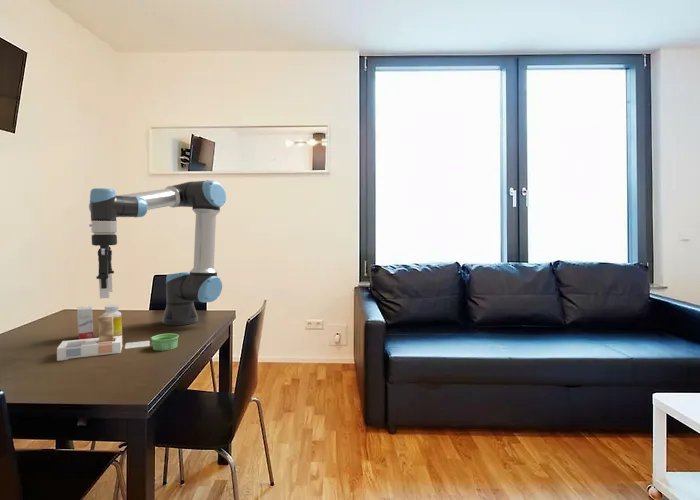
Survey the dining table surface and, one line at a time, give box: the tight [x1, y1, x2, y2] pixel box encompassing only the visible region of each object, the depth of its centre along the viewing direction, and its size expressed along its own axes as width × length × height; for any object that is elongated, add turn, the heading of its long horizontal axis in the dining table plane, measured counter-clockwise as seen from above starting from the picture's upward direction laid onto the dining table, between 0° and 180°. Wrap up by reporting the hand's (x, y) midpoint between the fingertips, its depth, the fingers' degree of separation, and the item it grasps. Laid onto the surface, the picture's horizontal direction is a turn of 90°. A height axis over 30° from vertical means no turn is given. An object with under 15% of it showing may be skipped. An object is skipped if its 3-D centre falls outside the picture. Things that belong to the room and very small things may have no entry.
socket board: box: [56, 335, 123, 362], centre depth 142 cm, size 18×10×4 cm, turn 116°
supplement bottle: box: [102, 304, 123, 337], centre depth 161 cm, size 7×7×13 cm
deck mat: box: [124, 340, 151, 350], centre depth 152 cm, size 8×8×1 cm
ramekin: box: [150, 333, 179, 352], centre depth 148 cm, size 9×9×4 cm
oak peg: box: [98, 314, 114, 342], centre depth 144 cm, size 4×4×12 cm
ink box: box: [76, 305, 94, 340], centre depth 162 cm, size 9×5×12 cm, turn 34°
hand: (106, 295), depth 143 cm, fingers open, 13 cm apart
